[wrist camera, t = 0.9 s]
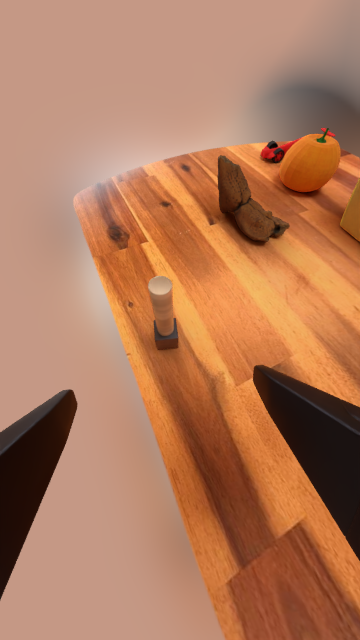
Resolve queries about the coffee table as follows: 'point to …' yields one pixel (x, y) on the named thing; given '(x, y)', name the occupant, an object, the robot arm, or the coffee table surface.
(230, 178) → the sculpture
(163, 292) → the brush
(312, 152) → the fruit
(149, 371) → the coffee table surface
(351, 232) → the flower pot
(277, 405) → the robot arm
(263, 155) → the toy car
